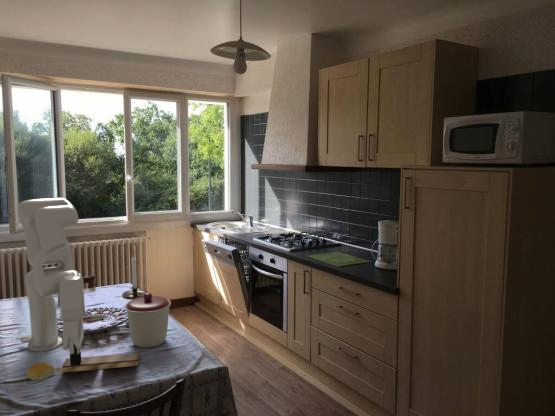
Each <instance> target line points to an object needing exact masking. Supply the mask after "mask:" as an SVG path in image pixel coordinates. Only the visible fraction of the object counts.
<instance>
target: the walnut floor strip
mask: <svg viewBox="0 0 555 416" xmlns="http://www.w3.org/2000/svg"><path fill="white" fill-rule="evenodd" d="M139 360H140V352H131V353H128V352H127V353H118V354H117V353H116V354H107V355H106V354H104V355H95V356H83V357H82V356H81V364H80V365H77V366H88V365H99V364H110V363H121V362H133V361H138V363H139V362H140V361H139ZM77 366H71V365H70V357H69V358H65V360H64V362H63V364H62V367H61V368H65V367H77Z"/></svg>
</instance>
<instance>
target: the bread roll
mask: <svg viewBox="0 0 555 416" xmlns="http://www.w3.org/2000/svg"><path fill="white" fill-rule="evenodd" d="M54 373H55V367H54V365H53V366H52V365H50V364H48V363H46V362H37V363H34V364H33V365H31V366H30V367H29V368H28V369H27V371H26V378H27V379H28V380H31V381H43V380H45V379H48V378H50V377H52V376H53V375H54Z"/></svg>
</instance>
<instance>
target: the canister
mask: <svg viewBox="0 0 555 416" xmlns="http://www.w3.org/2000/svg"><path fill="white" fill-rule="evenodd" d="M171 305H172V302H171V300H170V299H167V298H166V297H164V296H159V295H153V294H152V293H151V292H147V293H145V294H144V296H143V297H139V298H136V299H133V300H129V302H127V303H125V305H124V309H125V310H126V315H127V319H128V320H127V321H128V322H129V327H128V328H129V332H130V339H131V341H132V343H133V344H134V345H135V346H136V347H138V348H142V349H145V348H147V349H149V348H155V347H158V346H159V345H162V344H163V343H164V342H165V341H166V338H167V335H168V327H169V326H168V325H169V314H170V312H169V311H170V306H171Z"/></svg>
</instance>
